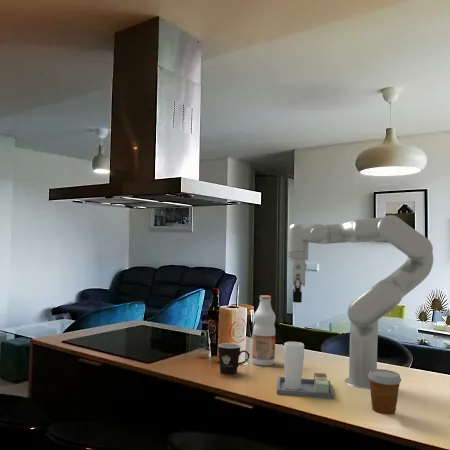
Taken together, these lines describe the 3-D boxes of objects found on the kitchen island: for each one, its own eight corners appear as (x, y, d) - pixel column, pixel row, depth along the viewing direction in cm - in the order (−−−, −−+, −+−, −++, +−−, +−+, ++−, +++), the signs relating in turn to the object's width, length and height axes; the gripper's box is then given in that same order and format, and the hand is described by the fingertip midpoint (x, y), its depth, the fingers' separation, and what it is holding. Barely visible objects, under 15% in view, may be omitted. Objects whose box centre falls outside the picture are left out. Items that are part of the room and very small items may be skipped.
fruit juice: (248, 361, 189) (250, 294, 190) (267, 359, 193) (269, 294, 194) (258, 366, 180) (260, 297, 182) (278, 365, 184) (280, 297, 185)
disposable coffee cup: (366, 416, 130) (366, 374, 131) (367, 406, 139) (368, 367, 140) (400, 422, 127) (401, 379, 128) (400, 411, 136) (401, 371, 137)
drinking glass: (289, 384, 156) (290, 340, 156) (306, 388, 151) (307, 343, 152) (278, 388, 150) (280, 343, 151) (296, 393, 146) (297, 346, 147)
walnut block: (325, 385, 156) (325, 373, 156) (326, 388, 152) (326, 376, 152) (313, 384, 156) (314, 372, 157) (314, 387, 152) (314, 375, 153)
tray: (329, 387, 157) (329, 380, 157) (333, 402, 142) (333, 394, 142) (278, 383, 159) (278, 376, 159) (276, 397, 144) (276, 389, 145)
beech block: (326, 389, 151) (326, 377, 152) (327, 392, 147) (327, 380, 148) (314, 388, 152) (314, 376, 152) (315, 391, 148) (315, 379, 148)
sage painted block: (327, 393, 147) (327, 381, 147) (328, 397, 143) (328, 384, 143) (315, 392, 148) (315, 380, 148) (315, 396, 144) (316, 383, 144)
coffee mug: (212, 371, 171) (213, 345, 172) (227, 367, 177) (228, 342, 178) (235, 378, 163) (236, 350, 164) (250, 374, 170) (251, 347, 170)
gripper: (309, 257, 163) (307, 304, 162) (307, 256, 180) (306, 298, 179) (288, 256, 164) (286, 303, 163) (288, 255, 181) (287, 297, 180)
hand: (297, 300), depth 171 cm, fingers open, 9 cm apart
